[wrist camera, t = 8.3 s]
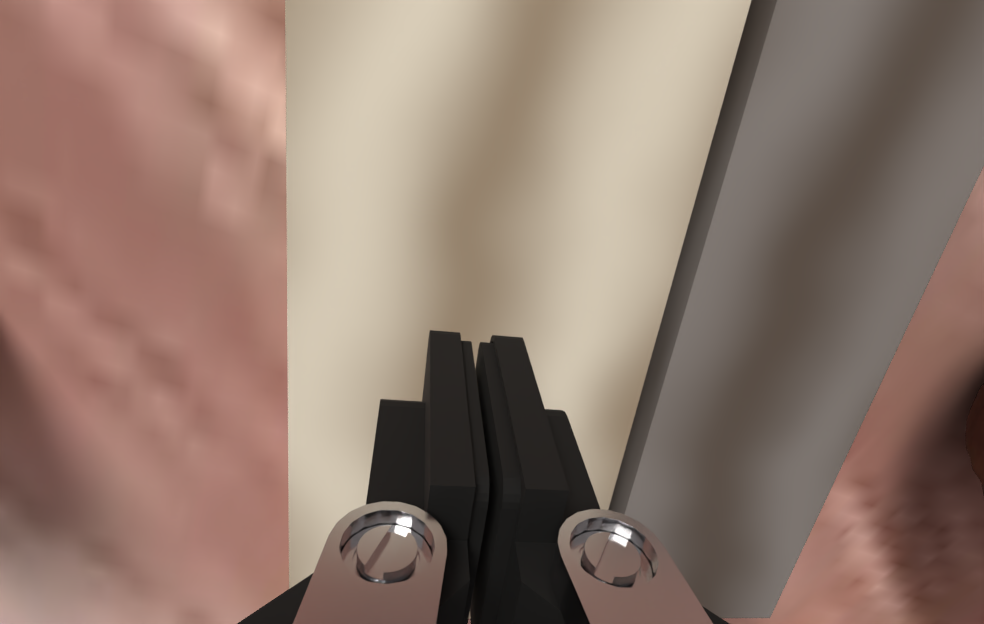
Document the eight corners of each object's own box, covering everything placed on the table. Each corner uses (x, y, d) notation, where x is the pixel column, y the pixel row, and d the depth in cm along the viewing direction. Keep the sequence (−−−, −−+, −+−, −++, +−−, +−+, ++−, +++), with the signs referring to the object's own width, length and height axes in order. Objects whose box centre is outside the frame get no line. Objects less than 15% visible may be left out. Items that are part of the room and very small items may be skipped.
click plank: (764, -199, 13) (817, -236, 11) (565, 572, 23) (577, 618, 21) (304, -306, 12) (282, -368, 10) (300, 570, 21) (289, 619, 20)
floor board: (1046, -133, 14) (1136, -157, 13) (743, 574, 24) (769, 617, 22) (787, -193, 13) (845, -230, 12) (580, 572, 23) (593, 618, 21)
